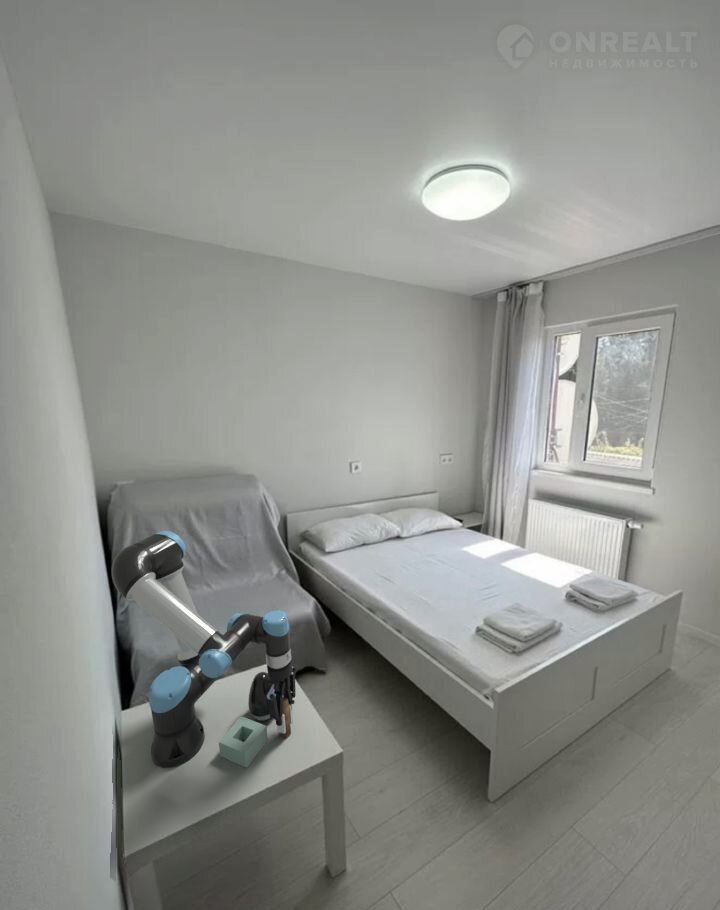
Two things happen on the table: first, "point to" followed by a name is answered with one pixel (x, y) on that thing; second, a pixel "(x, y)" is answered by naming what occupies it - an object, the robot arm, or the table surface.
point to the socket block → (240, 750)
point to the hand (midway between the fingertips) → (285, 726)
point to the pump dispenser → (259, 696)
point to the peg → (286, 718)
